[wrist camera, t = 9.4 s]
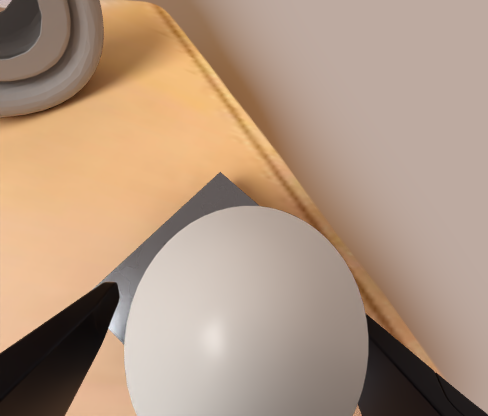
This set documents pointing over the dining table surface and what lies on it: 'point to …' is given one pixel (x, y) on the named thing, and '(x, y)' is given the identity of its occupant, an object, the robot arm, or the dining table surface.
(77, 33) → the turbocharger housing
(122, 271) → the frame
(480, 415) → the robot arm
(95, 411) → the dining table surface
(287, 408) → the white rounded cylinder
